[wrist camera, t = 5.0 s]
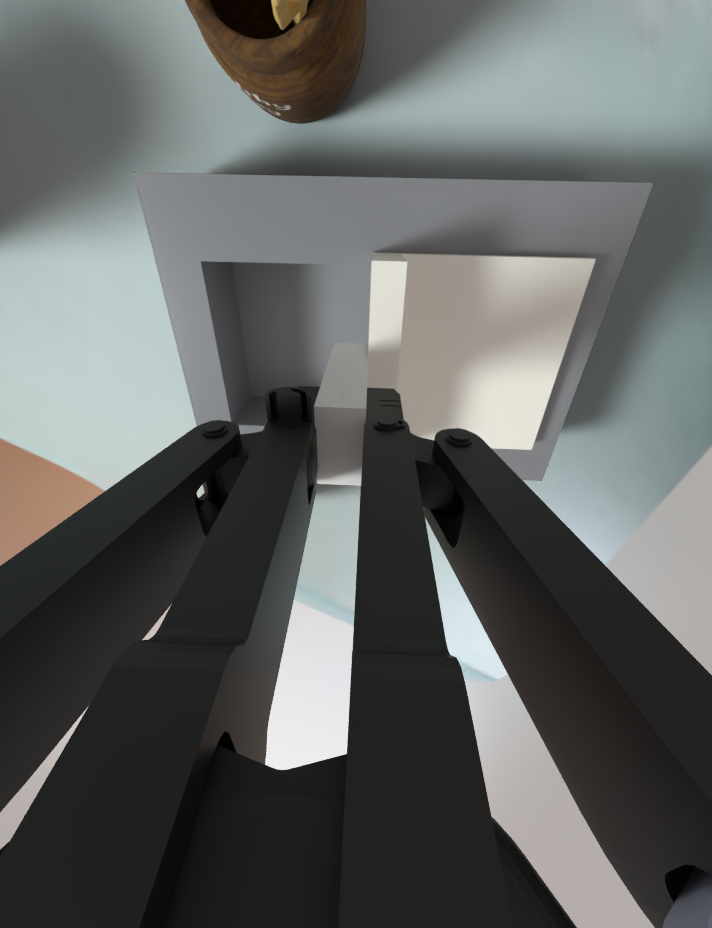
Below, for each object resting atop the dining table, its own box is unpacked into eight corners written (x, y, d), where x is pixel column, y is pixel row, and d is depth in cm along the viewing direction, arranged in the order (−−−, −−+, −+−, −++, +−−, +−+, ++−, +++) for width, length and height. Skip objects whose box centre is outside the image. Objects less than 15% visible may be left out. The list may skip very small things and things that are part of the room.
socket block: (187, 182, 18) (133, 172, 14) (589, 191, 18) (653, 182, 14) (233, 428, 26) (207, 467, 22) (514, 438, 26) (541, 480, 22)
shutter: (371, 252, 15) (371, 260, 12) (588, 257, 15) (645, 267, 12) (364, 438, 20) (363, 478, 17) (527, 444, 20) (556, 485, 17)
